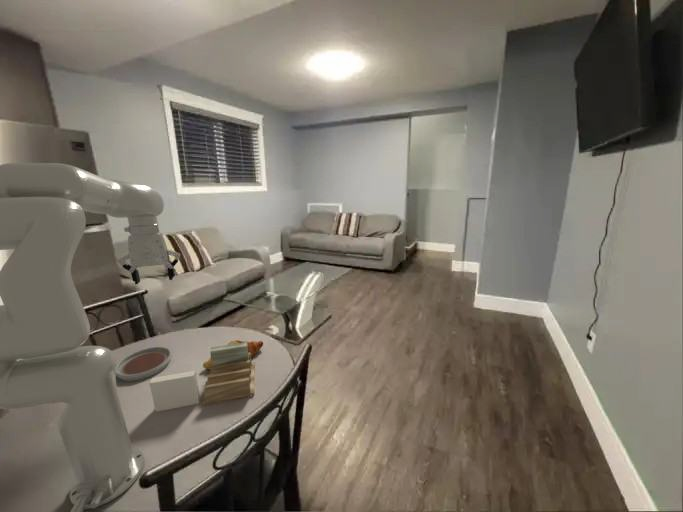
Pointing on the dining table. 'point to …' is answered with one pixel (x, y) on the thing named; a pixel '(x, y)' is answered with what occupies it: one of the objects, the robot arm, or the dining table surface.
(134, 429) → the dining table surface
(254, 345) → the croissant
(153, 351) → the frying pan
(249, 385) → the rack
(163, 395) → the white rectangular slab
